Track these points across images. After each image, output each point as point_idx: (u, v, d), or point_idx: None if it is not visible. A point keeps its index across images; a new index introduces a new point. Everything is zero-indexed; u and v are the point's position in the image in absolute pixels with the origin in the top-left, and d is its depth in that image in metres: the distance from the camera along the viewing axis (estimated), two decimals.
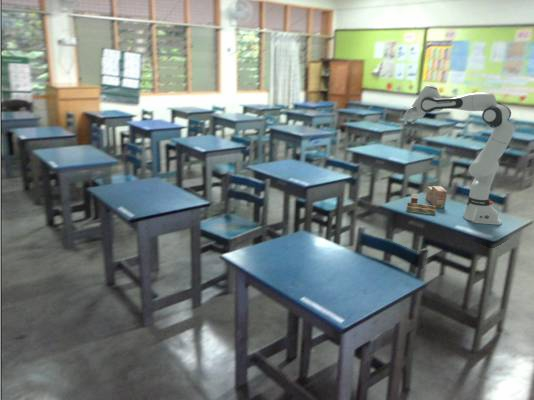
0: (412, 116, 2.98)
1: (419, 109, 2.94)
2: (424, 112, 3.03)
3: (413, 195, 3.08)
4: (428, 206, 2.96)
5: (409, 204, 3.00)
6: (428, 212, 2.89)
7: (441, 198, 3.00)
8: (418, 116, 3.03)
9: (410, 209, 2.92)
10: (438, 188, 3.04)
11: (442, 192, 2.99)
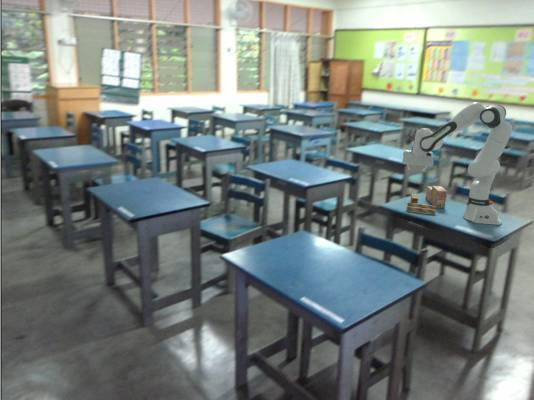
0: (411, 160, 3.00)
1: (414, 152, 2.96)
2: (430, 158, 2.96)
3: (413, 195, 3.08)
4: (428, 206, 2.96)
5: (409, 204, 3.00)
6: (428, 212, 2.89)
7: (441, 198, 3.00)
8: (423, 162, 2.98)
9: (410, 209, 2.92)
10: (438, 188, 3.05)
11: (442, 192, 2.99)
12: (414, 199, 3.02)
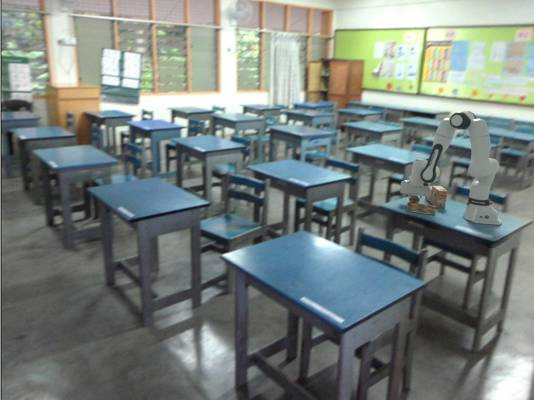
0: (409, 190, 3.05)
1: (411, 182, 3.02)
2: (427, 188, 3.00)
3: (413, 195, 3.08)
4: (428, 206, 2.96)
5: (409, 204, 3.00)
6: (428, 212, 2.89)
7: (441, 198, 3.01)
8: (420, 192, 3.03)
9: (410, 209, 2.92)
10: (438, 188, 3.05)
11: (442, 192, 3.00)
12: (415, 199, 3.01)
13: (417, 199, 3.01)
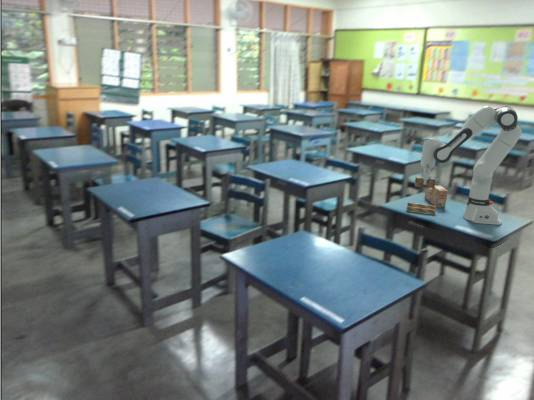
0: None
1: (432, 164, 2.81)
2: None
3: None
4: (428, 206, 2.96)
5: (409, 204, 3.00)
6: (428, 212, 2.89)
7: (442, 197, 3.02)
8: None
9: (410, 209, 2.92)
10: (438, 187, 3.06)
11: (443, 191, 3.00)
12: None
13: None
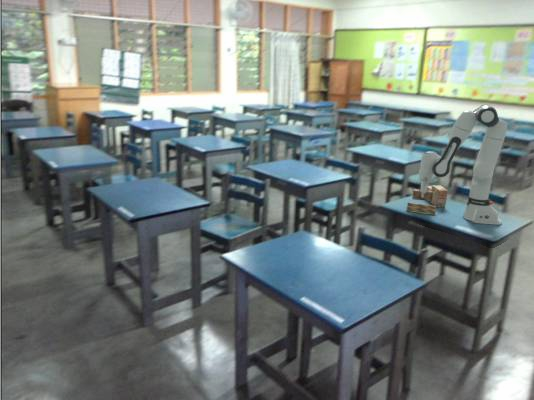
0: None
1: (430, 177, 2.84)
2: None
3: None
4: (428, 206, 2.96)
5: (409, 204, 3.00)
6: (428, 212, 2.89)
7: (442, 197, 3.02)
8: None
9: (410, 209, 2.92)
10: (438, 187, 3.06)
11: (443, 191, 3.01)
12: (432, 193, 2.90)
13: None
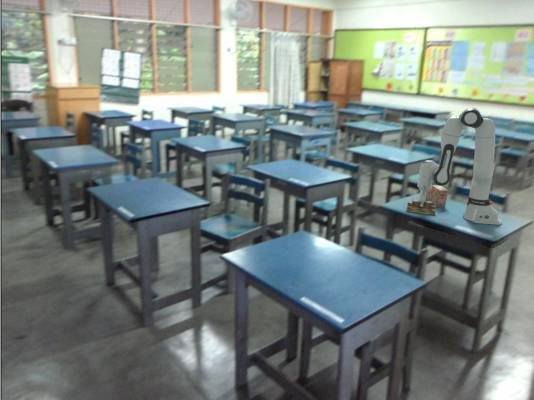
0: None
1: (429, 186, 2.85)
2: None
3: None
4: None
5: (409, 204, 3.00)
6: (428, 212, 2.89)
7: (442, 197, 3.02)
8: None
9: (410, 209, 2.92)
10: (438, 187, 3.06)
11: (443, 191, 3.01)
12: (431, 203, 2.91)
13: None
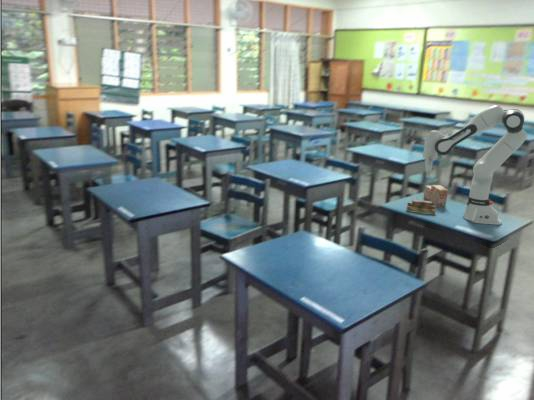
0: None
1: (434, 156, 2.82)
2: None
3: (420, 201, 2.92)
4: None
5: (409, 204, 3.00)
6: (428, 212, 2.89)
7: (442, 197, 3.03)
8: None
9: (410, 209, 2.92)
10: (438, 187, 3.07)
11: (443, 191, 3.02)
12: (431, 203, 2.91)
13: None
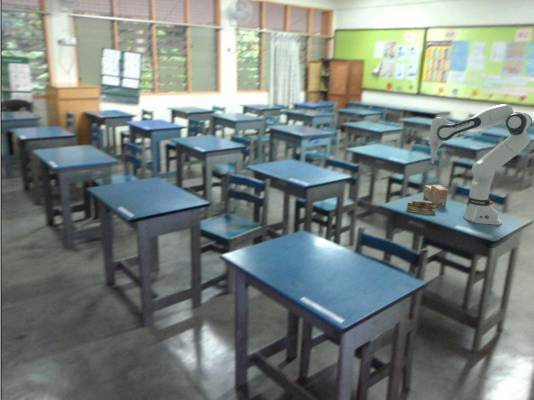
0: None
1: (440, 142, 2.88)
2: None
3: (420, 201, 2.92)
4: None
5: (409, 204, 3.00)
6: (428, 212, 2.89)
7: (442, 197, 3.03)
8: None
9: (410, 209, 2.92)
10: (438, 187, 3.07)
11: (443, 191, 3.02)
12: (431, 203, 2.91)
13: None
